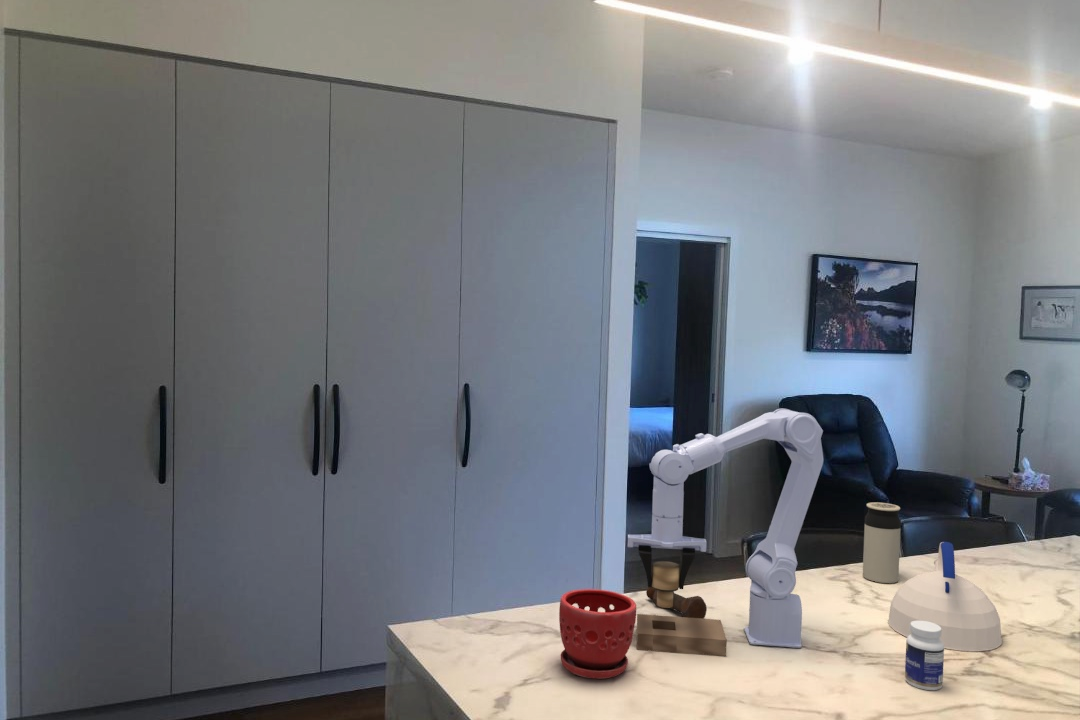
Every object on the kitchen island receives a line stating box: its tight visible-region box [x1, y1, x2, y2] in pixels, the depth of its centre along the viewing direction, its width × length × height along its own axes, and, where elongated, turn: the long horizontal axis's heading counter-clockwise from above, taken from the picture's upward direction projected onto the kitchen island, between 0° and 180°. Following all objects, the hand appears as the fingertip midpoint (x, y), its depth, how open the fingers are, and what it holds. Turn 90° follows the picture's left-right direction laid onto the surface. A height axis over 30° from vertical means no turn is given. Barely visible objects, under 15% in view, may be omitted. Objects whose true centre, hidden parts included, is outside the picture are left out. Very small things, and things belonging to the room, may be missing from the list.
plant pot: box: [558, 588, 637, 680], centre depth 131 cm, size 13×13×12 cm
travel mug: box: [862, 501, 902, 584], centre depth 186 cm, size 8×8×18 cm
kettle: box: [887, 541, 1003, 653], centre depth 153 cm, size 20×21×18 cm
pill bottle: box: [904, 621, 945, 691], centre depth 129 cm, size 6×6×10 cm
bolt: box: [645, 586, 708, 619], centre depth 160 cm, size 6×5×15 cm
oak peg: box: [651, 560, 680, 609], centre depth 144 cm, size 5×5×8 cm
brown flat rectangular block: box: [636, 613, 727, 657], centre depth 144 cm, size 16×10×3 cm, turn 83°
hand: (665, 586), depth 144 cm, fingers closed on oak peg, 5 cm apart
